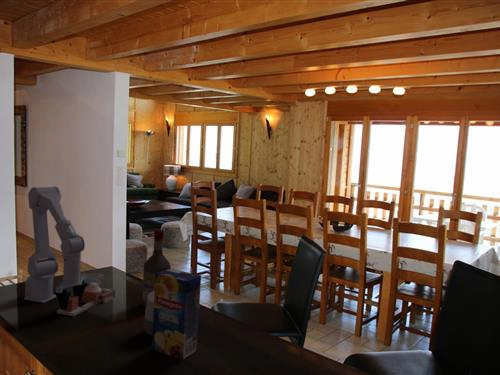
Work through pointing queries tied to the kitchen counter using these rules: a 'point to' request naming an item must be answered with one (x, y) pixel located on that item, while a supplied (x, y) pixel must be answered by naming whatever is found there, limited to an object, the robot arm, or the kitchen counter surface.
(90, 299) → the white rails red ends
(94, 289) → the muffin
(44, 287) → the robot arm
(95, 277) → the stone block
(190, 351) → the juice carton
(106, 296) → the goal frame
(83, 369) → the kitchen counter surface
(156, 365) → the kitchen counter surface
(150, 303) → the smart speaker
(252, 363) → the kitchen counter surface
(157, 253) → the liquor
